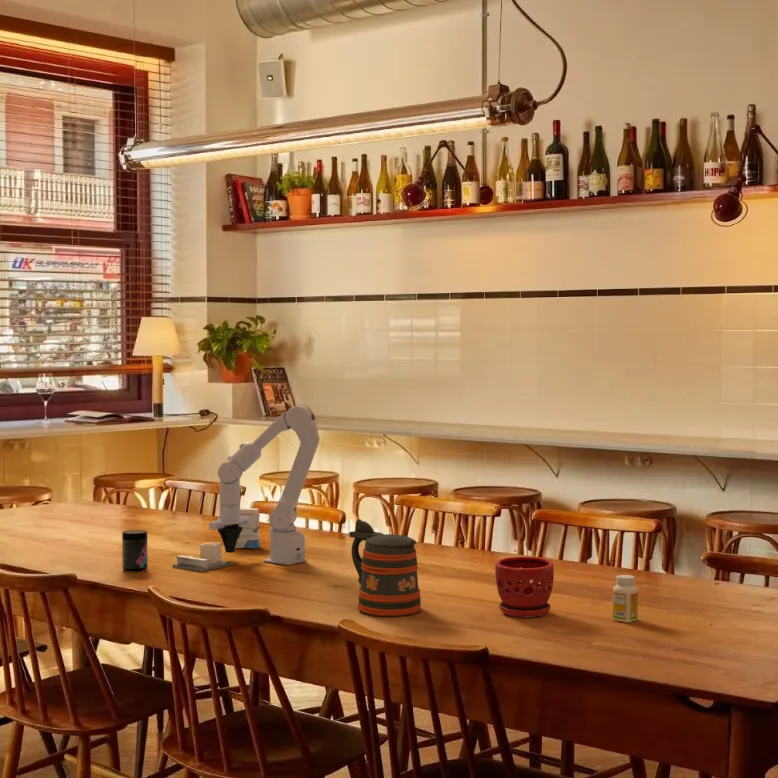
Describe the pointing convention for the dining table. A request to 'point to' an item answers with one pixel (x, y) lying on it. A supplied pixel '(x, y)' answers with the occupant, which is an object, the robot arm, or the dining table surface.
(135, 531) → the supplement container
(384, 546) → the beer stein
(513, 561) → the plant pot
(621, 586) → the supplement bottle
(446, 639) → the dining table surface
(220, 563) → the rail plate
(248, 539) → the ink box
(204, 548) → the block
